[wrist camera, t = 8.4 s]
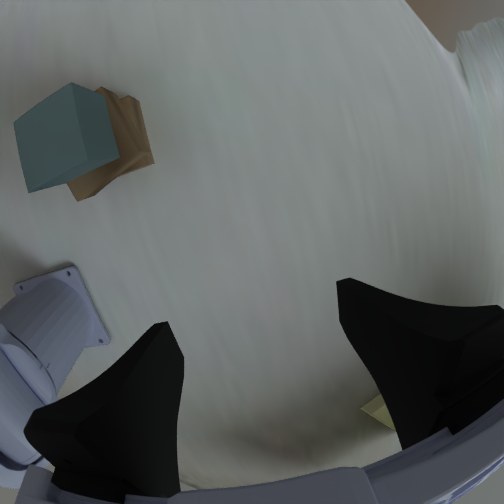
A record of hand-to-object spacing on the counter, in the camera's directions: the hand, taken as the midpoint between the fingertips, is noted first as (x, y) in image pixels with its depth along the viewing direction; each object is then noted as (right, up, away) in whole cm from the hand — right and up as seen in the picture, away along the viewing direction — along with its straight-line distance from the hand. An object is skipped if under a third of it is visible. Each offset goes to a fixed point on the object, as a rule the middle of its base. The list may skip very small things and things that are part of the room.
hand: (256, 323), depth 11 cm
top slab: (-10, +10, +4) cm, 15 cm away
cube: (-10, +9, +2) cm, 14 cm away
